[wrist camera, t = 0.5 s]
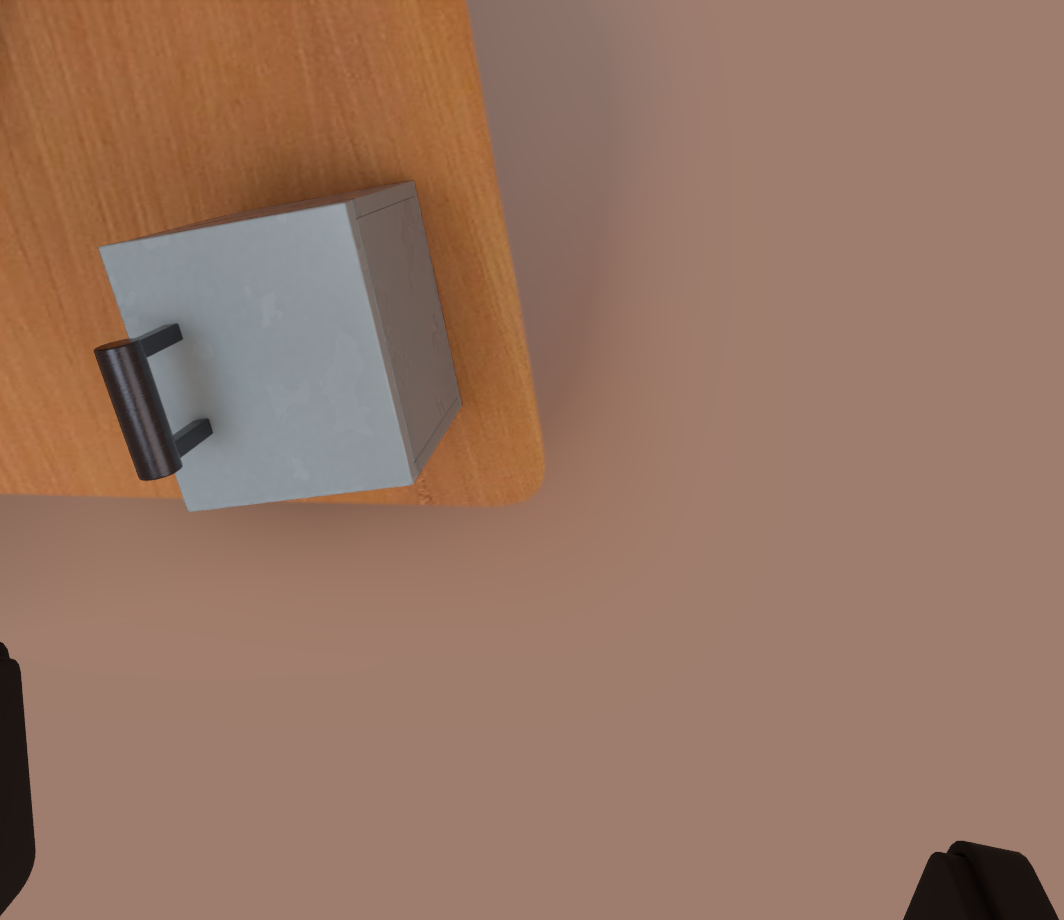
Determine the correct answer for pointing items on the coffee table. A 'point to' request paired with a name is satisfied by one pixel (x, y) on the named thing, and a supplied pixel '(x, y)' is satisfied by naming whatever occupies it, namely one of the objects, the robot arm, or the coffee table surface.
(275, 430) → the freezer lid
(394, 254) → the freezer
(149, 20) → the coffee table surface
